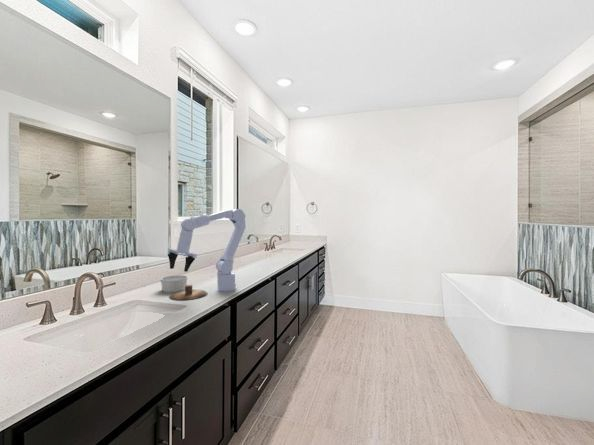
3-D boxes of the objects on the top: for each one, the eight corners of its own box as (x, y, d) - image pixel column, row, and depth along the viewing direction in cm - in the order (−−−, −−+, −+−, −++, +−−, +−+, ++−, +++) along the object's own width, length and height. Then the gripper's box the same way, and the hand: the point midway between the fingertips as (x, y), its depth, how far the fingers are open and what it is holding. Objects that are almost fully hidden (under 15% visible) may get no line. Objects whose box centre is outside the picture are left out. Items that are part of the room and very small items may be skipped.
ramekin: (181, 294, 145) (181, 280, 145) (155, 294, 145) (155, 280, 145) (191, 287, 158) (191, 275, 158) (168, 287, 159) (167, 275, 158)
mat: (209, 290, 151) (208, 289, 151) (206, 300, 134) (206, 299, 134) (172, 292, 147) (172, 291, 147) (165, 303, 129) (165, 302, 129)
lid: (206, 290, 150) (206, 281, 150) (204, 298, 135) (204, 288, 134) (174, 292, 146) (174, 283, 146) (168, 301, 131) (168, 290, 131)
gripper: (166, 239, 138) (160, 267, 137) (194, 244, 136) (188, 273, 135) (174, 240, 145) (168, 267, 144) (200, 245, 143) (195, 272, 142)
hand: (178, 270), depth 140 cm, fingers open, 7 cm apart
